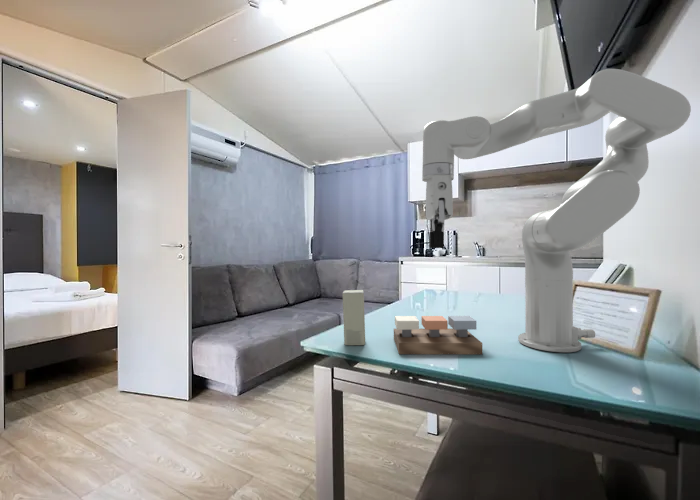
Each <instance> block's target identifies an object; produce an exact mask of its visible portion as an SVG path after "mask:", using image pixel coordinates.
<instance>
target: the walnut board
mask: <svg viewBox="0 0 700 500" xmlns="http://www.w3.org/2000/svg"><path fill="white" fill-rule="evenodd" d="M411 335H412V337H402V330H397V328H393V340H394V343H395V344H394V345H395V347H396V349H397V352H398V354H399V355H483V342H482V341H480V340H479V338H477V337H476V336H475V335H473V334H472V333H471V332H470V331H468V337H457V336H456V330H454V329H453V328H448V330H439V336H440V337H429V330H426V329H425V328H419V330H411Z"/></svg>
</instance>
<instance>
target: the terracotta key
mask: <svg viewBox="0 0 700 500" xmlns="http://www.w3.org/2000/svg"><path fill="white" fill-rule="evenodd" d="M420 319H421V325H422V326H423V329H426V330H429V337H440V336H439V330H448V329H449V328H448V325H449V324H448V319H446V318H445V317H444V316H443V315H421V318H420Z"/></svg>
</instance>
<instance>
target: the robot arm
mask: <svg viewBox="0 0 700 500" xmlns="http://www.w3.org/2000/svg"><path fill="white" fill-rule="evenodd" d="M691 111H692V109H691V104H690V102H689V99H688V98H687V97H686V96H685V95H684V94H683V93H681V92H679V91H677V90H676V89H674V88H671V87H668V86H667V85H664V84H662V83H659V82H657V81H655V80H652V79H649V78H647V77H645V76H642V75H640V74H637V73H634V72H632V71H627V70H624V69H618V68H606V69H602V70H599V71H598V72H596V73H595V74H593V75H592V76H591V77H590V78H589V79H587V80H586V81H585V82H584V83H583V84H582V85H581V86H579V87H577V88H574V89H570V90H568V91H567V90H566V91H564V92H560V93H557V94H553V95H549V96H546V97H545V96H544V97H543V98H539V99H534V100H531V101H529V102H526V103H525V104H523V105H522V106H520V107H519V108H517V109H515V110H514V111H513V112H511V113H510V114H508V115H506V116H505V117H503V118H501V119H500V120H498V121H495V122H493V123H490V122H489V120H488V119H487V118H485V117H482V116H479V115H477V116H476V115H475V116H468V117H463V118H459V119H454V120H443V119H441V120H434V121H431V122H429V123H427V124H426V125H425V126H424V128H423V131H422V134H423V135H422V169H421V171H422V172H421V173H422V177H421V179H422V182H425V186H426V187H425V219H426V220H427V221H429V242H428V243H429V245H428V246H429V248H430V249H443V248H444V246H445V221H447V220H449V219H451V218H452V217H453V215H454V203H453V200H454V198H453V195H454V194H453V182H452V181H453V180H455V179H454V178H455V177H454V176H455V175H454V174H455V157H456V158H458V159H460V160H472V159H473V160H474V159H476V158H481V157H483V156H488V155H492V154H495V153H498V152H501V151H504V150H507V149H509V148H513V147H516V146H519V145H521V144H522V145H523V144H525V143H527V142H530V141H532V140H534V139H540V138H543V137H546V136H550V135H554V134H557V133H563V132H565V131H570V130H573V129H576V128H581V127H585V126H588V125H591V124H593V123H595V122H597V121H599V120H601V119H602V118H604V117H605V116H607V115H608V114H610V113H612V114H615V116H617V117H615V119H613V120H612V121H611V123H610V124H609V125H608V127H607V129H606V133H605V136H604V137H605V138H604V139H605V146H606V154H605V157H603V159H602V160H600V162H599V163H598V164H597V165H595V166H594V167H593V168H592V169H591V170H589V172H587V173H586V174H585V175H584V176H582V177H581V178H580V179H578V180H577V181H576V182H575V183H572V185H571V186H569V188H568V189H567V190H566V191H565V192H564V194H563V195H562V199H561V204H560V205H559V206H558V207H555V208H551V209H547V210H546V209H545V210H543V211H542V210H541V211H539V212H536V213H534V214H533V215H531V216H530V217H529V218H528V219H527V220H526V221H525V223H524V225H523V226H522V231H521V241H522V247H523V253H524V254H523V255H524V267H525V268H524V270H525V271H524V276H525V277H524V280H525V281H524V282H525V283H524V284H525V285H524V290H525V291H524V292H525V293H524V294H525V295H524V299H525V300H524V301H525V303H524V304H525V305H524V306H525V308H524V309H525V311H524V312H525V313H524V314H525V316H524V319H525V330H524V331H525V332H523V333H520V334H519V335H517V336H518V339H517V340H518V341H519V343H520V344H522V345H524V346H526V347H529V348H532V349H536V350H540V351H546V352H550V353H551V352H553V353H575V352H576V353H577V352H579V351H580V350H582V343H581V342H580V341H579V340H581V339H582V338H585V339H594V338H596V331H595V330H594V329H585V328H584V329H581V327H576V326H574V303H573V302H574V295H573V293H574V286H573V285H574V268H573V261H572V257H571V253H570V252H574V251H578V250H581V249H583V248H584V247H586V246H588V245H589V244H591V243H592V242H593V241H595V240H597V238H599V237H600V236H601V235H603V234H605V232H607V230H609V229H611V227H613V226H614V225H616V224H617V223H618V222H619V221H621V219H623V218H624V217H625V216H626V215H627V214H628V213H630V212H631V211H632V210H633V209H634V207H635V205H636V204H637V202H638V200H639V197H640V193H641V192H640V184H639V182H640V181H641V179H642V178H643V177H644V176H645V175H646V173H647V171H648V169H649V151H648V145H647V144H648V143H651V142H654V141H655V140H658V139H659V140H660V139H661V138H663V137H666V136H668V135H671V134H673V133H674V132H676V131H677V130H679V129H680V128H681V127H683V126H684V125H685V124H686V122H688V119H689V118H690V116H691Z"/></svg>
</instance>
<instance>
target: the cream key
mask: <svg viewBox="0 0 700 500" xmlns="http://www.w3.org/2000/svg"><path fill="white" fill-rule="evenodd" d="M394 325H395V329H397V330H402V337H412V335H411V330H419V329H420V320H419V319H418V317H417V316H416V315H395V316H394Z"/></svg>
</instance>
